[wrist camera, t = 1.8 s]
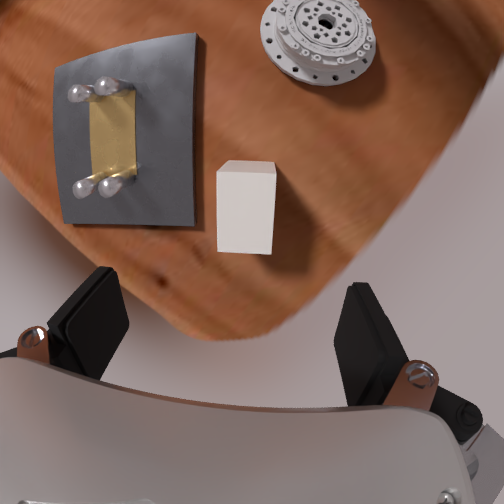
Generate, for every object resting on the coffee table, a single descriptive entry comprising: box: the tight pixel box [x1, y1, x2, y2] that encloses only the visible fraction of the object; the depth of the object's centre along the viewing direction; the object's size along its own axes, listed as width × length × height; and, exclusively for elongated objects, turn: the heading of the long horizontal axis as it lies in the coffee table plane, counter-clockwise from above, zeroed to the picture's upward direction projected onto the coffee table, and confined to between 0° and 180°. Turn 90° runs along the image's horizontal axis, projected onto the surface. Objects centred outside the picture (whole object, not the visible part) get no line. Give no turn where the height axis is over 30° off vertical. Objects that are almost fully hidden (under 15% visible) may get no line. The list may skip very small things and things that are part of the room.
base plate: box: [53, 33, 199, 226], centre depth 20 cm, size 18×16×5 cm
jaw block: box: [217, 160, 276, 254], centre depth 22 cm, size 6×4×6 cm, turn 178°
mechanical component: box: [260, 0, 375, 86], centre depth 16 cm, size 10×4×10 cm
